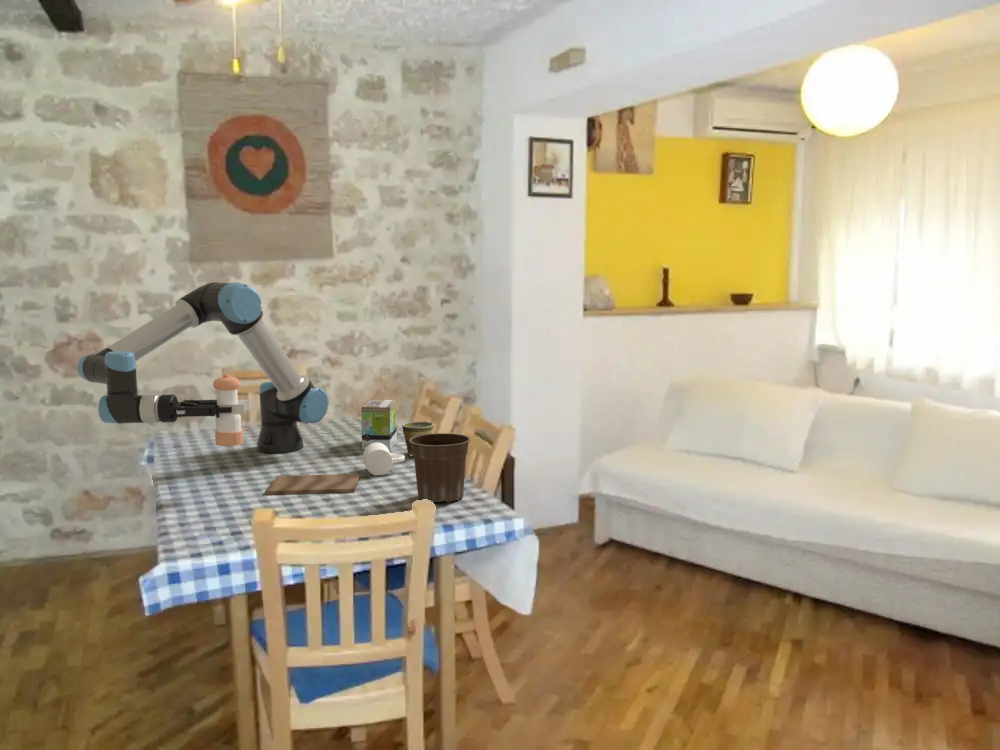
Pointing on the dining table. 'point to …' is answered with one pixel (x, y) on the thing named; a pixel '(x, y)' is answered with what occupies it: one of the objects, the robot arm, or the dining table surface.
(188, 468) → the dining table surface
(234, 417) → the pepper shaker
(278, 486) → the walnut board
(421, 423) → the ceramic cup
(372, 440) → the tea box
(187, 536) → the dining table surface
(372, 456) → the mug
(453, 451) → the plant pot
